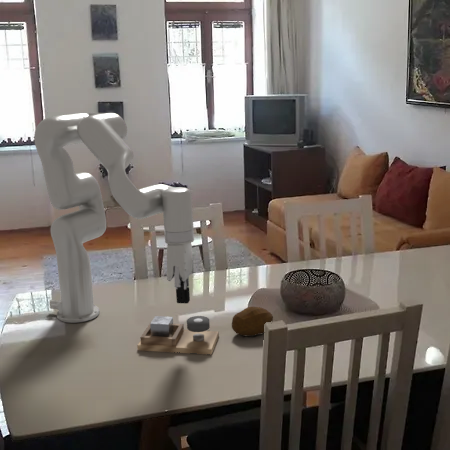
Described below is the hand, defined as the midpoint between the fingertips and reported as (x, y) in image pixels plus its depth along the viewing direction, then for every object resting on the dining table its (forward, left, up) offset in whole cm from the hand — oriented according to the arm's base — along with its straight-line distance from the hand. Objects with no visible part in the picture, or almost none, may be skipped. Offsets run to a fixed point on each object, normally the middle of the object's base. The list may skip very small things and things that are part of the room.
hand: (183, 302), depth 163 cm
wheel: (+4, 0, -7) cm, 8 cm away
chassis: (-2, 0, -12) cm, 12 cm away
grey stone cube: (-6, 0, -11) cm, 12 cm away
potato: (+17, +9, -13) cm, 23 cm away
